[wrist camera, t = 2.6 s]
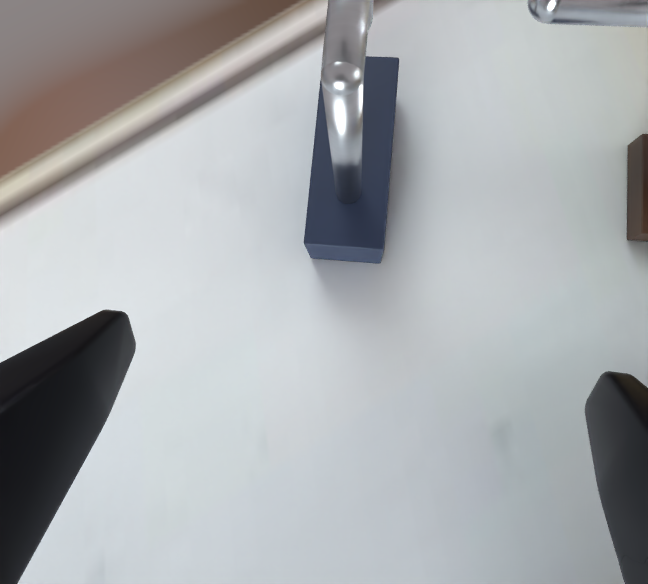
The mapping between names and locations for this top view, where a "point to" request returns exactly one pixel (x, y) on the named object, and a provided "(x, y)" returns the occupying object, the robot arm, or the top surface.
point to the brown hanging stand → (644, 152)
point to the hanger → (351, 141)
